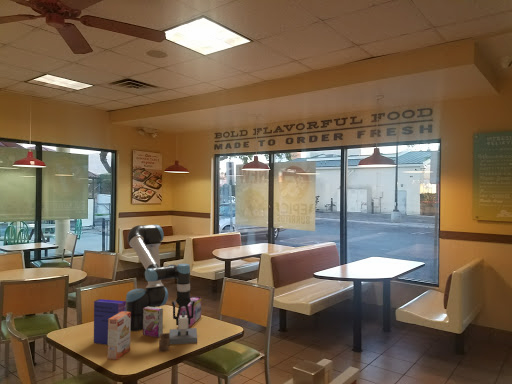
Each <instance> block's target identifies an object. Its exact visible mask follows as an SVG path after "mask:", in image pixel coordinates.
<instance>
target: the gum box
mask: <svg viewBox="0 0 512 384" xmlns="http://www.w3.org/2000/svg"><path fill="white" fill-rule="evenodd" d="M190 299H191V300H194V301H195V303H194V314H193V318H191V319H190V325H188V328H190V327H191V326H192V325H193V324H195V323H196V321H198V320H199V319H200V318H201V317H202V296H190ZM191 308H192V304H191V302H190V303H189V304H188V309H189V313H190V316H191ZM180 315H187V311H186V307H184V306H183V307H181V310H180V314H179V317H180ZM187 318H188V315H187Z"/></svg>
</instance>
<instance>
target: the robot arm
mask: <svg viewBox="0 0 512 384" xmlns="http://www.w3.org/2000/svg"><path fill="white" fill-rule="evenodd" d="M164 237H165V234H164V231H163V228H162V227H161V226H160V225H159V224H145V225H142V224H141V225H135V226H133V227H131V228H130V230H129V231H128V234H127V238H126V239H127V244H128V245H129V246H130V248H133V251H134V252H135V254H136V256H137V257H138V259H139V261H140V263H141V264H142V266H143V267H144V269H145V271H144V278H145V280H146V281H147V285H146V286H145V288H134V289H131V290H130V291H128V292H127V293H126V294H125V295H126V296H125V301H126V312H131V329H130V332H138V331H143V308H145V307H147V306H149V307H157V308H161V307H162V306H165V305H166V303H167V302H168V299H169V292H168V289H167V287H165V285H164V283H162V281H163V280H170V279H176V290H177V291H176V300H173V301H171V305H172V318H173V320H175V323H176V324H175V325H176V326H177V329H178V331H179V330H180V329H179V314H180V310H181V307H183V306H184V307H186V311H187V315H188V318H187V331H188V328H189V327H188V325H190V319H191V318H193V314H194V303H195V301H194V300H191V299H190V297H191V296H190V295H191V291H190V290H191V266H190V264H188V263H179V264H169V265H168V266H161V259H160V248H159V247H160V246H161V244H162V243H161V242H163V241H164ZM190 302H191V304H192V308H191V316H190V313H189V309H188V304H189V303H190ZM176 305H178V308H177V309H178V310H177V313H176Z"/></svg>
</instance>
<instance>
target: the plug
mask: <svg viewBox="0 0 512 384" xmlns="http://www.w3.org/2000/svg"><path fill="white" fill-rule="evenodd" d="M178 319H179V329H181V336H183V335H186V329H187V315H180V317H179V318H178Z"/></svg>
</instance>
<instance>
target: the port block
mask: <svg viewBox="0 0 512 384" xmlns="http://www.w3.org/2000/svg"><path fill="white" fill-rule="evenodd" d="M197 331H198V329H197V327H193V328H190V327H188V331H187V329H186V335H183V336H181V329H180V330H179V331H178V328H173V329H169V332H168V333H170V339H169V345H182V344H185V345H186V344H197V343H198V332H197Z"/></svg>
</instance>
